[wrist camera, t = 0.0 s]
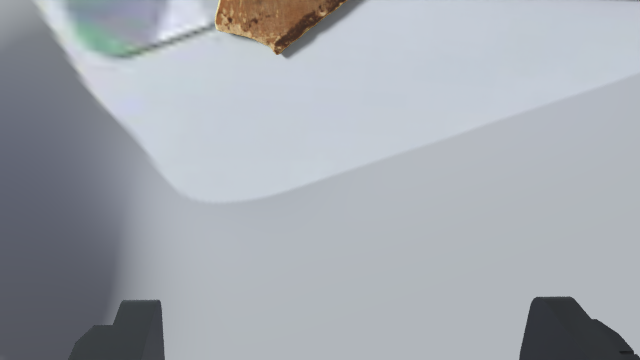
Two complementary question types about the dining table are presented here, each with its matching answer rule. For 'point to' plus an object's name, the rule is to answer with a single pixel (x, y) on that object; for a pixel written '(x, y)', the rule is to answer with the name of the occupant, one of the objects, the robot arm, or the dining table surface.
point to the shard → (272, 19)
